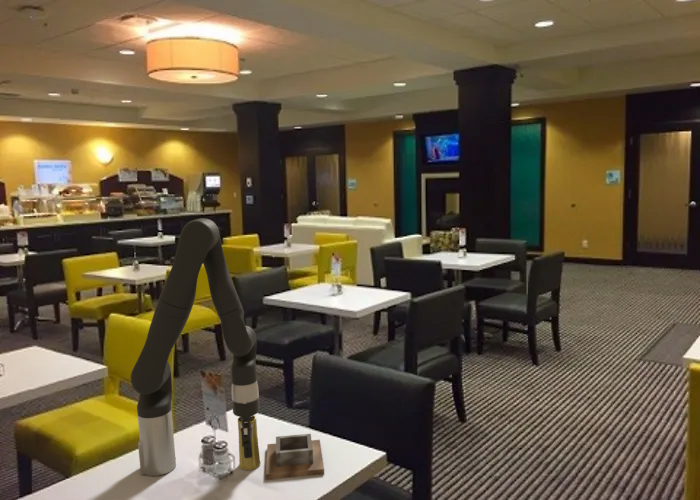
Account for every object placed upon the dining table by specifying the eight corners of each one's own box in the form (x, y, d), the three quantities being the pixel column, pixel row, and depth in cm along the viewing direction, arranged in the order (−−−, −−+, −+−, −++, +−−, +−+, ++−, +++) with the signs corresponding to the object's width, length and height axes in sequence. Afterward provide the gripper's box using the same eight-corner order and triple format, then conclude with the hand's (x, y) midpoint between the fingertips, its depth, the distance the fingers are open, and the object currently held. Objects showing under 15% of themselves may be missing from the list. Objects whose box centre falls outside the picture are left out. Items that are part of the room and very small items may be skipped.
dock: (266, 479, 162) (265, 460, 161) (267, 448, 179) (266, 431, 179) (324, 474, 163) (323, 455, 163) (319, 444, 181) (319, 427, 180)
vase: (249, 472, 166) (246, 424, 164) (234, 466, 169) (231, 419, 167) (264, 463, 171) (262, 416, 169) (250, 457, 174) (247, 412, 172)
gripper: (233, 388, 174) (237, 442, 176) (229, 407, 160) (233, 465, 162) (259, 386, 174) (262, 439, 177) (257, 405, 160) (261, 463, 163)
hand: (248, 452), depth 169 cm, fingers closed on vase, 5 cm apart
